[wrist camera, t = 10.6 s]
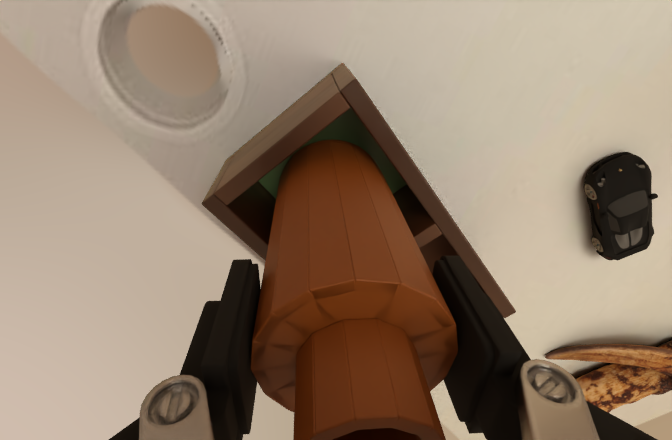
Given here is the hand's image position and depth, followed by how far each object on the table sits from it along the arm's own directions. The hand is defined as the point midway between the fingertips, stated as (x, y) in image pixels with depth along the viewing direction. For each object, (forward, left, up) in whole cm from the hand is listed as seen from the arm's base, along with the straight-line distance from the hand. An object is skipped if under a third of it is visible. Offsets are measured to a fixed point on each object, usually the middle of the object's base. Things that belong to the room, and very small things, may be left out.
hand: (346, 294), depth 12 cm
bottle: (0, 0, -8) cm, 8 cm away
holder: (+4, -1, -11) cm, 12 cm away
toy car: (+18, +8, -11) cm, 23 cm away
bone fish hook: (+32, -3, -11) cm, 34 cm away
